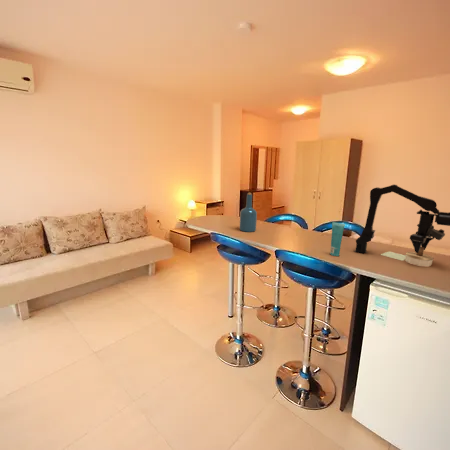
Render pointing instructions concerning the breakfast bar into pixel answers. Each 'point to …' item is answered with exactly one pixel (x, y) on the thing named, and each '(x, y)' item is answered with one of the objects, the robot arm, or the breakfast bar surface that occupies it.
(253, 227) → the wine bottle
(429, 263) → the bowl
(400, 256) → the mat
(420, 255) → the lid
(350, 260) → the breakfast bar surface
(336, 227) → the tube
